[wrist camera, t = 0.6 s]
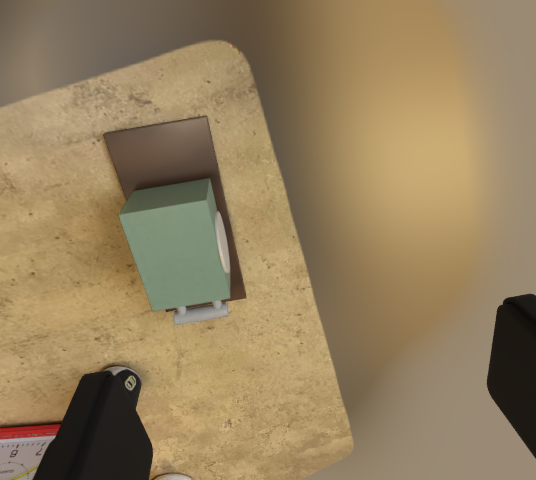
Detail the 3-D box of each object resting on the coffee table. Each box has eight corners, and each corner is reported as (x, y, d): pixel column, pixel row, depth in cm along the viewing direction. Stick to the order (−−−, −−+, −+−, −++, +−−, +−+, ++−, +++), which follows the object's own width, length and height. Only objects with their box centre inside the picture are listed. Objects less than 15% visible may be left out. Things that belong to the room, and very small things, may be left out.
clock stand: (104, 133, 38) (102, 134, 37) (206, 115, 38) (206, 116, 37) (166, 309, 49) (165, 312, 48) (246, 295, 49) (246, 298, 48)
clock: (117, 215, 35) (164, 344, 42) (209, 200, 35) (240, 331, 42) (133, 190, 40) (172, 307, 48) (212, 176, 40) (239, 296, 48)
